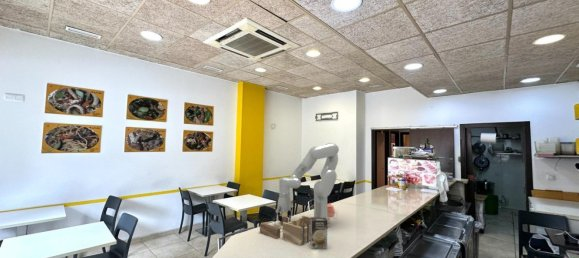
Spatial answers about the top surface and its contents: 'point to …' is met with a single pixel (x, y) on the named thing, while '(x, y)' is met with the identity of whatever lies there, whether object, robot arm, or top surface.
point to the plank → (270, 230)
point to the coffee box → (318, 233)
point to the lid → (281, 224)
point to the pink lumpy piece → (330, 210)
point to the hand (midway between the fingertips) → (284, 219)
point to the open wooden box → (297, 230)
